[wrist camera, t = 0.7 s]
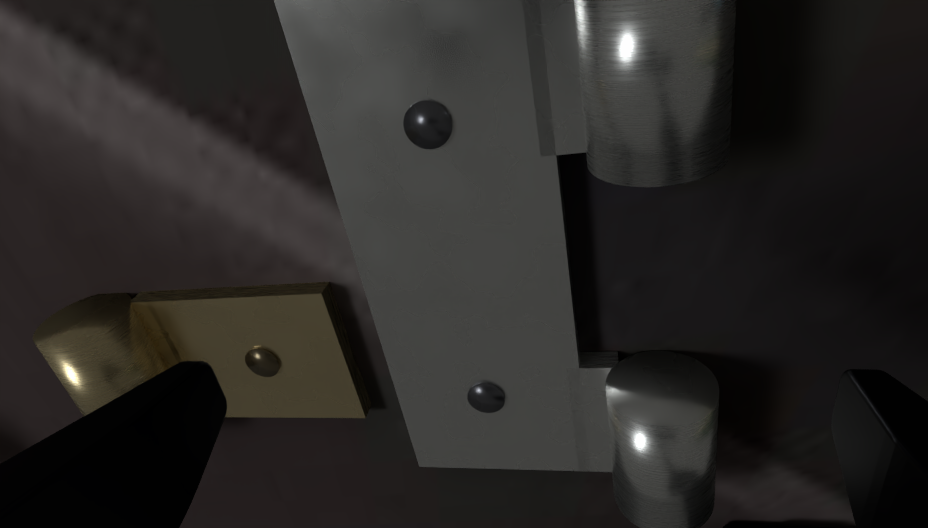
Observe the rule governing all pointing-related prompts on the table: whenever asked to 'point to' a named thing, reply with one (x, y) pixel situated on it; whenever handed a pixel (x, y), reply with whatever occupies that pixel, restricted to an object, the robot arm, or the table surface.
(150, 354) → the brass hinge leaf
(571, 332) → the steel hinge leaf
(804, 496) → the table surface
